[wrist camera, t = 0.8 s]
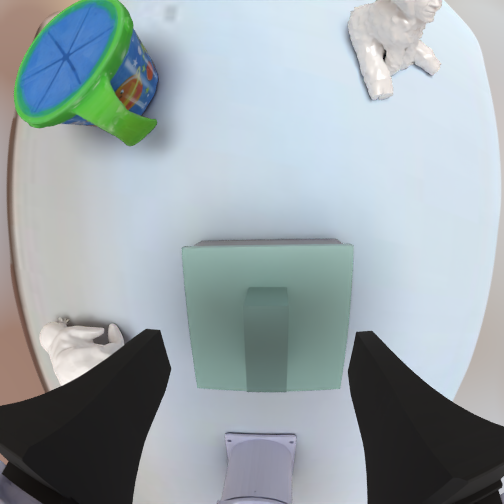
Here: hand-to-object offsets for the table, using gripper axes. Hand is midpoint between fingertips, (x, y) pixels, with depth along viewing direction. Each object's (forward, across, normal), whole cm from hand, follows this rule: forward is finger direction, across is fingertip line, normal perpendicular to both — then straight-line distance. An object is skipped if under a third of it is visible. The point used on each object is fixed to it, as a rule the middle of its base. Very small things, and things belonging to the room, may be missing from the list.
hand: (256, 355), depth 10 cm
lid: (+10, 0, +5) cm, 11 cm away
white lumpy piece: (+12, +19, +11) cm, 25 cm away
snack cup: (+17, +13, -14) cm, 25 cm away
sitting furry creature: (+18, -11, -17) cm, 27 cm away
